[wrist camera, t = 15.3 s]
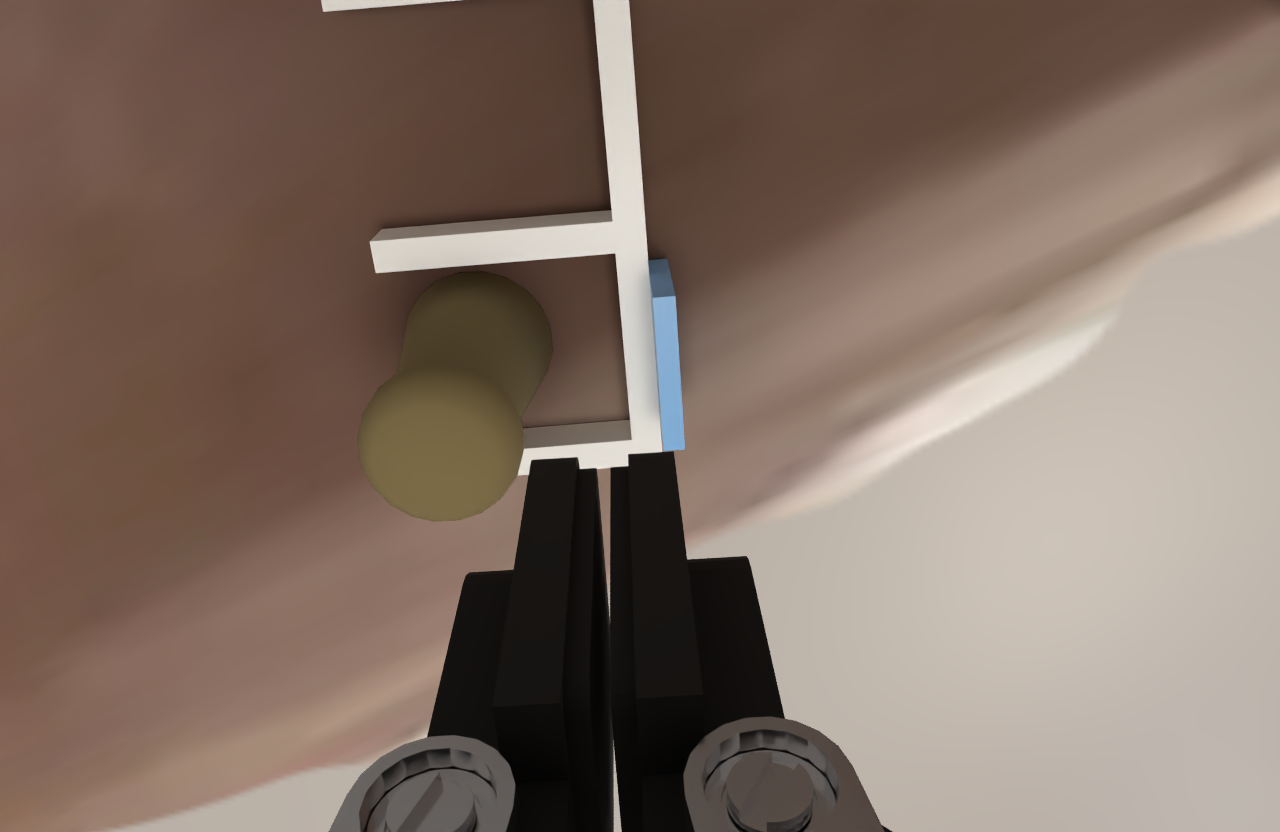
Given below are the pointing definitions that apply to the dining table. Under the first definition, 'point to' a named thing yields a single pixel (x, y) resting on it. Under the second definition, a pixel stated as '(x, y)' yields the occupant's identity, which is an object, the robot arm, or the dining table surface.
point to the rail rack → (571, 236)
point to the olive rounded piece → (457, 398)
